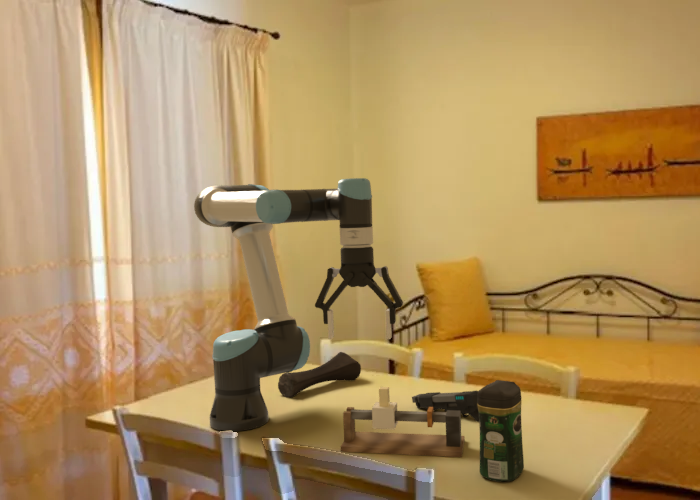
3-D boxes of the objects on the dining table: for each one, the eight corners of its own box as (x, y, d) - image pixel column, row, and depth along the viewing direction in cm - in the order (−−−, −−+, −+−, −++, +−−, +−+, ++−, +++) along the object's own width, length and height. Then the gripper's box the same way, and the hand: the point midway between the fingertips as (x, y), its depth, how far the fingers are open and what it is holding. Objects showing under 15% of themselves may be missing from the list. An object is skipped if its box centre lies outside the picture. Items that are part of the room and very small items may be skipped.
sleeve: (372, 428, 153) (371, 390, 153) (376, 422, 158) (375, 384, 157) (394, 429, 152) (393, 391, 151) (397, 422, 157) (396, 385, 156)
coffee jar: (491, 462, 143) (489, 375, 142) (528, 469, 138) (526, 379, 137) (473, 478, 135) (471, 387, 133) (512, 486, 130) (510, 391, 129)
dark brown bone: (350, 383, 219) (284, 414, 200) (336, 353, 222) (269, 381, 202) (370, 372, 212) (303, 403, 193) (355, 341, 214) (287, 369, 195)
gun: (480, 423, 167) (467, 383, 169) (421, 434, 181) (410, 397, 182) (490, 418, 171) (477, 379, 172) (431, 429, 184) (420, 393, 186)
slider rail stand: (340, 451, 153) (339, 413, 152) (350, 436, 162) (349, 400, 162) (461, 457, 146) (460, 417, 146) (464, 440, 156) (463, 403, 155)
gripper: (299, 248, 153) (303, 341, 155) (409, 245, 148) (412, 341, 150) (307, 246, 161) (311, 334, 162) (412, 243, 156) (415, 334, 157)
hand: (360, 338), depth 156 cm, fingers open, 13 cm apart
